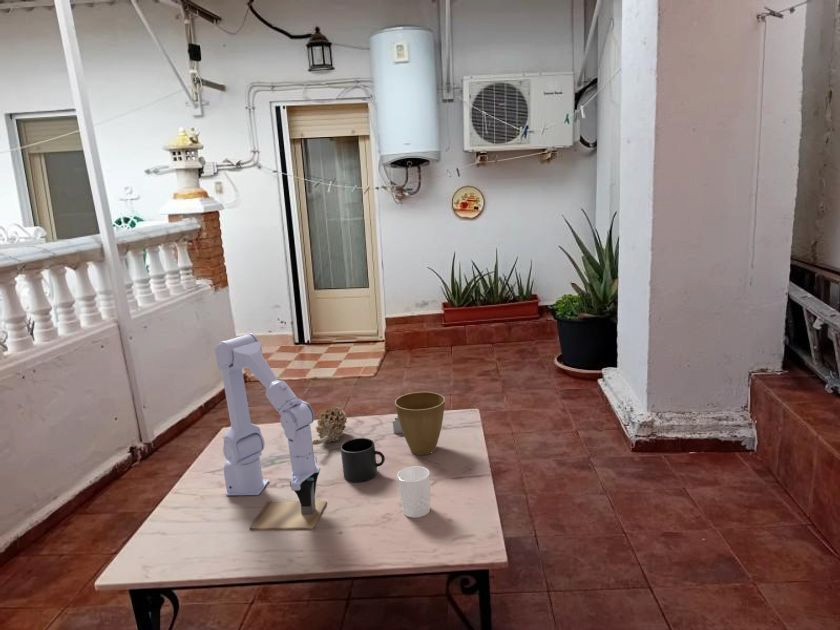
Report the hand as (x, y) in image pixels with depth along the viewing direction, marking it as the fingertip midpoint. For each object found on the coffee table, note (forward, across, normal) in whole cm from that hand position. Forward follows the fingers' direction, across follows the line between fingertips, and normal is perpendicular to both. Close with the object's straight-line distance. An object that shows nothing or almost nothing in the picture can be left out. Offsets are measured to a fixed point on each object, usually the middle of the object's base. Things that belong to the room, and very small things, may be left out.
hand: (308, 502), depth 149 cm
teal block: (+2, 0, 0) cm, 3 cm away
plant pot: (+3, +35, -25) cm, 43 cm away
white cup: (+3, +1, -27) cm, 27 cm away
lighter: (+3, +49, -17) cm, 52 cm away
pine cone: (+3, +41, +6) cm, 42 cm away
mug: (+3, +20, -10) cm, 23 cm away
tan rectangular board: (+3, -1, +5) cm, 6 cm away
